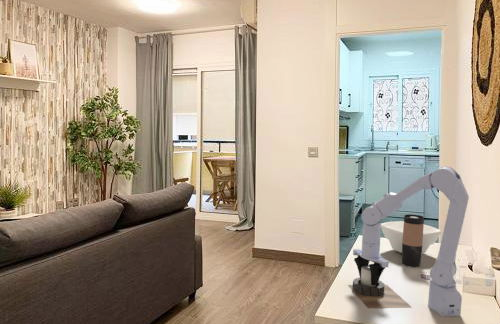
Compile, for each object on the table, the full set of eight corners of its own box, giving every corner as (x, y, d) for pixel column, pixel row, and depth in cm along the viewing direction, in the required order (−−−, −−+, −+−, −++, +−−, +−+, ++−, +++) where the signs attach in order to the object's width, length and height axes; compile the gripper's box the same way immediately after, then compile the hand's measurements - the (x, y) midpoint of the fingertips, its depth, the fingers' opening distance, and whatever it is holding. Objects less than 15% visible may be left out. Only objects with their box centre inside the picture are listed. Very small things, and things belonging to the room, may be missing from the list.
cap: (376, 288, 137) (377, 270, 137) (360, 286, 138) (361, 269, 138) (375, 282, 142) (376, 265, 142) (360, 280, 143) (361, 264, 143)
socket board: (411, 310, 128) (412, 299, 128) (367, 311, 127) (368, 300, 126) (385, 286, 146) (386, 277, 146) (347, 287, 145) (347, 277, 145)
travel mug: (422, 263, 173) (425, 216, 171) (419, 268, 166) (422, 219, 164) (402, 260, 177) (406, 213, 175) (399, 265, 170) (402, 216, 168)
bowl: (372, 247, 194) (373, 222, 193) (409, 243, 203) (410, 220, 202) (407, 262, 174) (408, 235, 173) (446, 257, 182) (448, 231, 181)
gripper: (396, 246, 134) (393, 287, 136) (364, 235, 147) (362, 272, 148) (380, 249, 131) (377, 291, 132) (349, 237, 144) (347, 275, 145)
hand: (368, 281), depth 140 cm, fingers closed on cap, 5 cm apart
